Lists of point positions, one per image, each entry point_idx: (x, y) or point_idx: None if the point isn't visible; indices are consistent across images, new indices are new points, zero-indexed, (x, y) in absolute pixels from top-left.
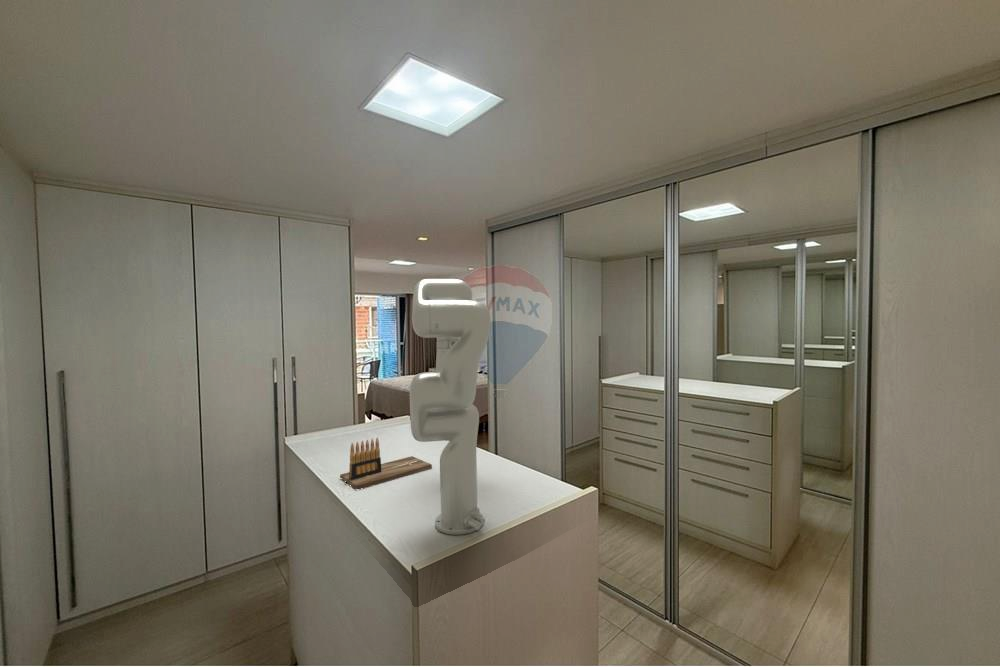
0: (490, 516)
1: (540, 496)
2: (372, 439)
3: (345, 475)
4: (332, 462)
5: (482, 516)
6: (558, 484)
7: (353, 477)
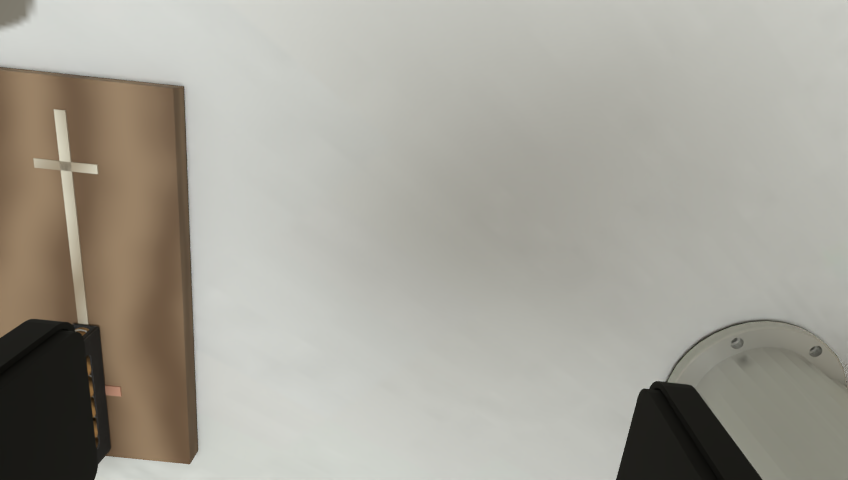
0: (820, 296)
1: None
2: None
3: None
4: None
5: (824, 348)
6: None
7: (105, 448)
